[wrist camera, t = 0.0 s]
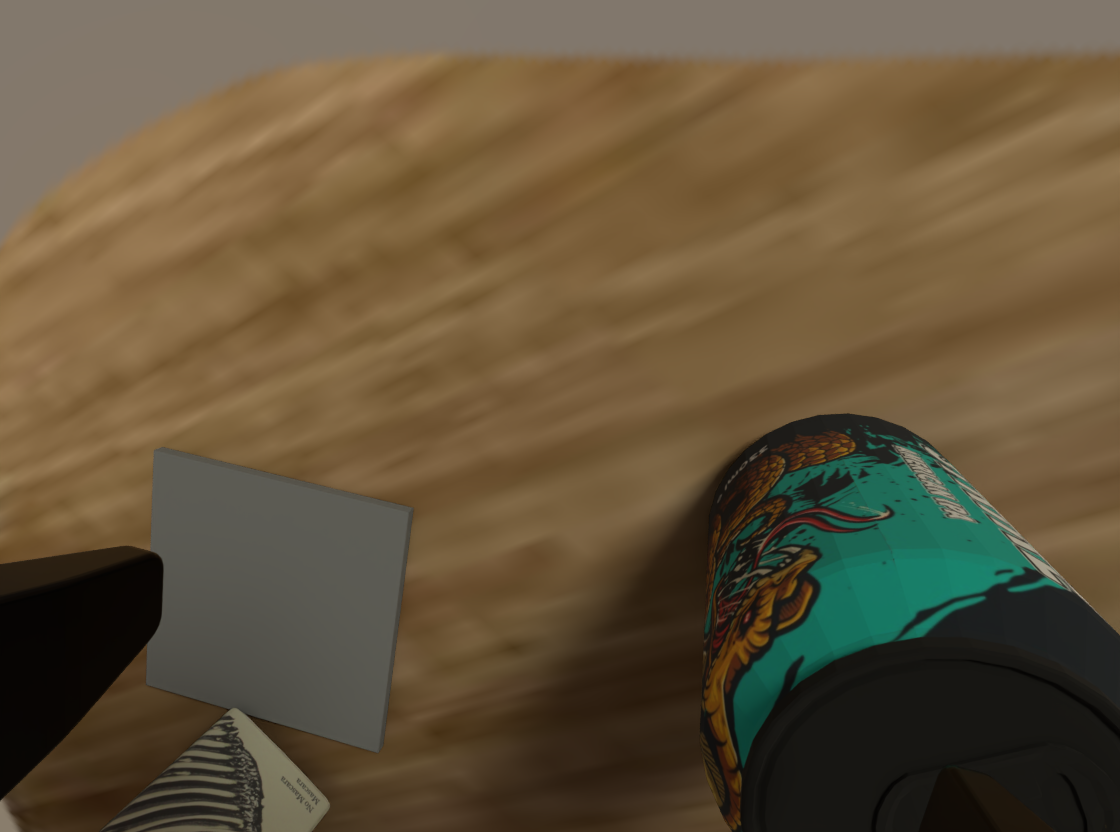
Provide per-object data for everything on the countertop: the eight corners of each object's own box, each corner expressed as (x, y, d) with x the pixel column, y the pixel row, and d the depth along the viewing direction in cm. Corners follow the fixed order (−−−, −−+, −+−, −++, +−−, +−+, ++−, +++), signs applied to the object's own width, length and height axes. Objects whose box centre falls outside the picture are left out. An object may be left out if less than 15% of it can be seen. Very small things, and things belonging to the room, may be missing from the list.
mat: (382, 745, 27) (378, 752, 27) (153, 678, 29) (146, 684, 28) (413, 507, 25) (408, 512, 25) (162, 447, 26) (154, 450, 26)
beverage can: (672, 457, 23) (624, 684, 11) (915, 369, 21) (1148, 535, 10) (760, 665, 24) (795, 1065, 12) (1000, 598, 22) (1302, 998, 11)
